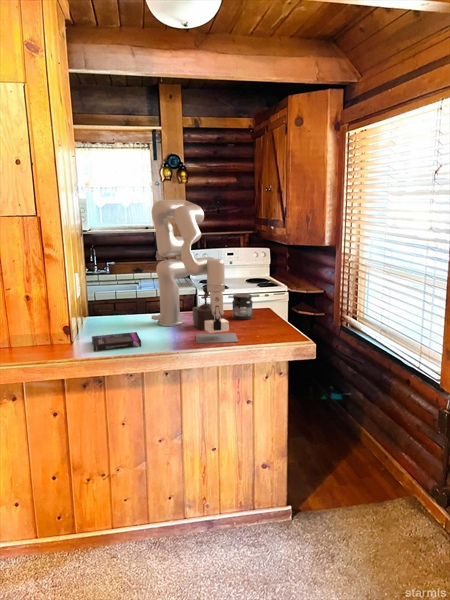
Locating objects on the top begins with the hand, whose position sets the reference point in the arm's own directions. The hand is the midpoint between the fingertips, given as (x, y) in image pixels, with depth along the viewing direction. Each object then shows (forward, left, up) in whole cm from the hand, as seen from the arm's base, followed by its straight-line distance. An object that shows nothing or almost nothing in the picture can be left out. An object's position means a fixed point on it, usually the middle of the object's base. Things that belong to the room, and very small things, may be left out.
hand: (216, 327), depth 194 cm
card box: (0, 0, -1) cm, 1 cm away
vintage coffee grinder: (-4, +22, -5) cm, 23 cm away
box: (-43, -2, -6) cm, 44 cm away
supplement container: (+16, +34, -5) cm, 38 cm away
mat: (0, 0, -5) cm, 5 cm away
